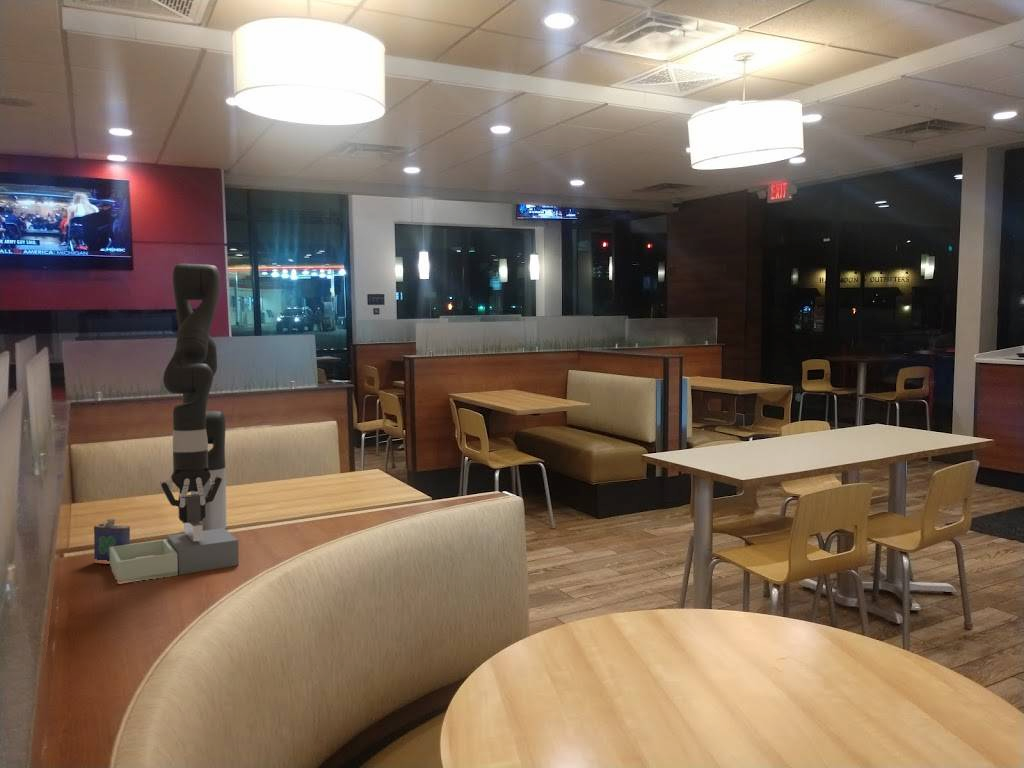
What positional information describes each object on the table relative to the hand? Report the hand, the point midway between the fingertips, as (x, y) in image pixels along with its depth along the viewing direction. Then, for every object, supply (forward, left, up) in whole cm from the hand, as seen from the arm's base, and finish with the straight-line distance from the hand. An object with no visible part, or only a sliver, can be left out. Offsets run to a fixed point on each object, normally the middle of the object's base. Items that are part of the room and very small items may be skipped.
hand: (192, 521), depth 176 cm
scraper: (+1, 0, -3) cm, 3 cm away
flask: (-11, -16, -10) cm, 22 cm away
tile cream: (-3, -10, -8) cm, 13 cm away
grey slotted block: (0, +2, -10) cm, 10 cm away
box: (0, -11, -10) cm, 15 cm away
